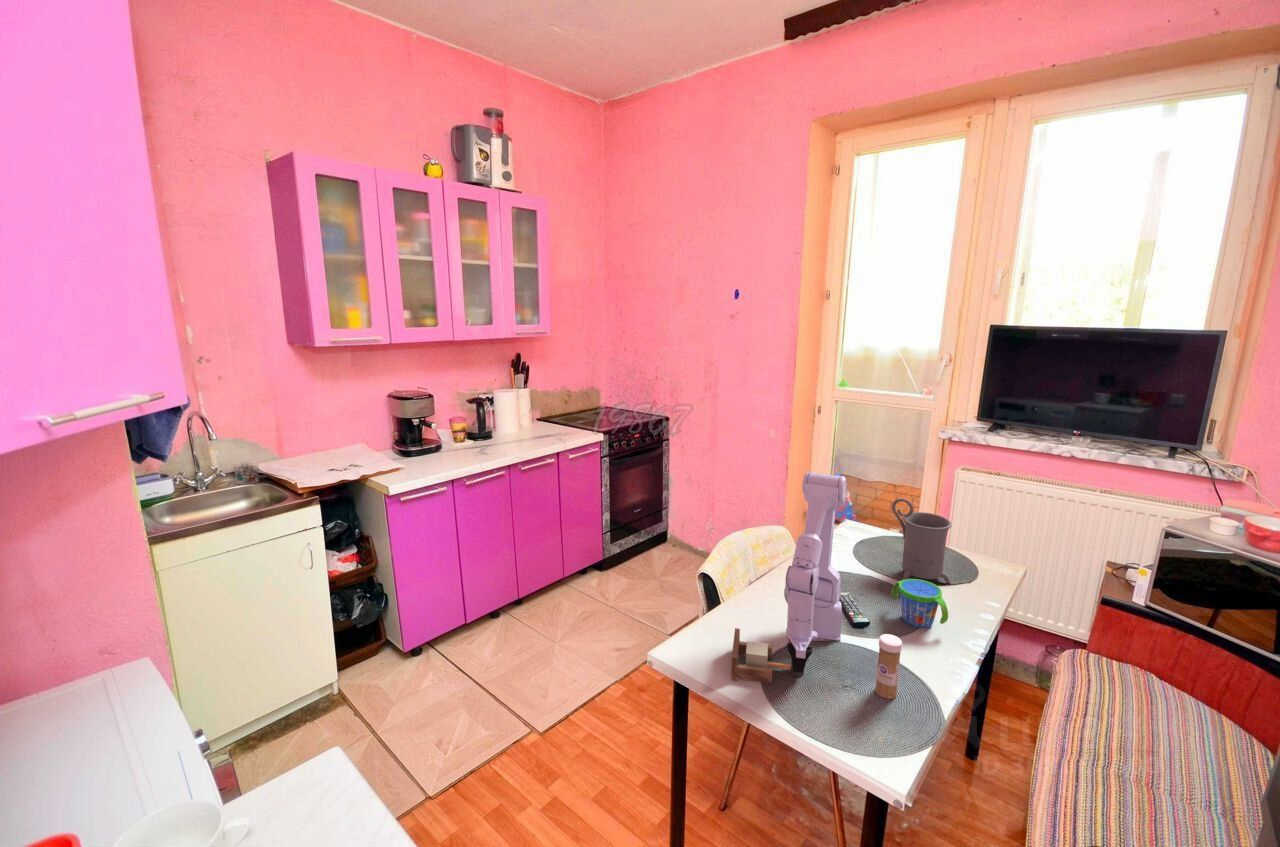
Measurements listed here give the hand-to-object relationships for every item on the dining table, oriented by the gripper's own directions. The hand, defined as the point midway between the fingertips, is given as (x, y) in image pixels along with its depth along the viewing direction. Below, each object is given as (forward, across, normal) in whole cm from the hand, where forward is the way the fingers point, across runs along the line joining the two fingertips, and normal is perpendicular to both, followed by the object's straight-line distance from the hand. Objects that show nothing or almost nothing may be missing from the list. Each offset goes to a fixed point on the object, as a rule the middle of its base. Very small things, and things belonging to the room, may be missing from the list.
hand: (797, 666), depth 128 cm
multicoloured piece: (+2, 0, +5) cm, 5 cm away
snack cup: (+2, +29, -33) cm, 44 cm away
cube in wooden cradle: (+2, 0, +10) cm, 10 cm away
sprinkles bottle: (+2, -3, -19) cm, 19 cm away
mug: (+2, +57, -40) cm, 70 cm away
